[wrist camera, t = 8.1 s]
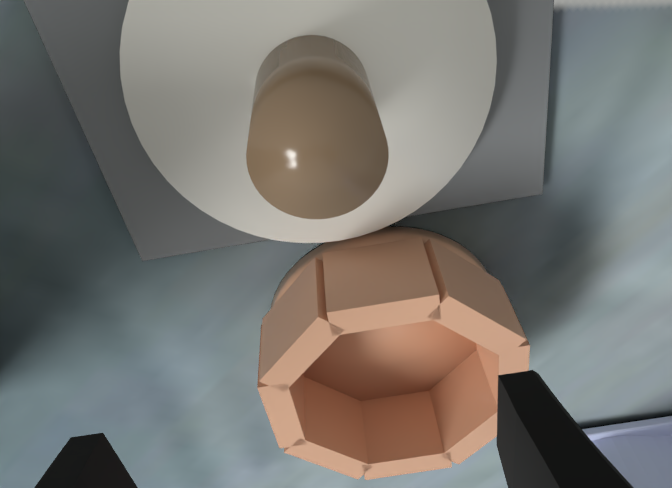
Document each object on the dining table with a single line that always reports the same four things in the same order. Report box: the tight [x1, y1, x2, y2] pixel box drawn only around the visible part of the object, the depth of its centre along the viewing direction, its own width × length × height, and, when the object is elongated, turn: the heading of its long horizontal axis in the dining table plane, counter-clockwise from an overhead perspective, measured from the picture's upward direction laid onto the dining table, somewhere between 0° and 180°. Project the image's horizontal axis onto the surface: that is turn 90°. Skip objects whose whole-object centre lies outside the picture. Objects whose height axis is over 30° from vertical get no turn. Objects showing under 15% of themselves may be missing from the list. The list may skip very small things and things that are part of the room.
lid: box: [120, 0, 497, 243], centre depth 15 cm, size 10×10×5 cm
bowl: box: [257, 227, 530, 480], centre depth 22 cm, size 9×9×4 cm
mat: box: [24, 0, 554, 261], centre depth 17 cm, size 14×11×1 cm
